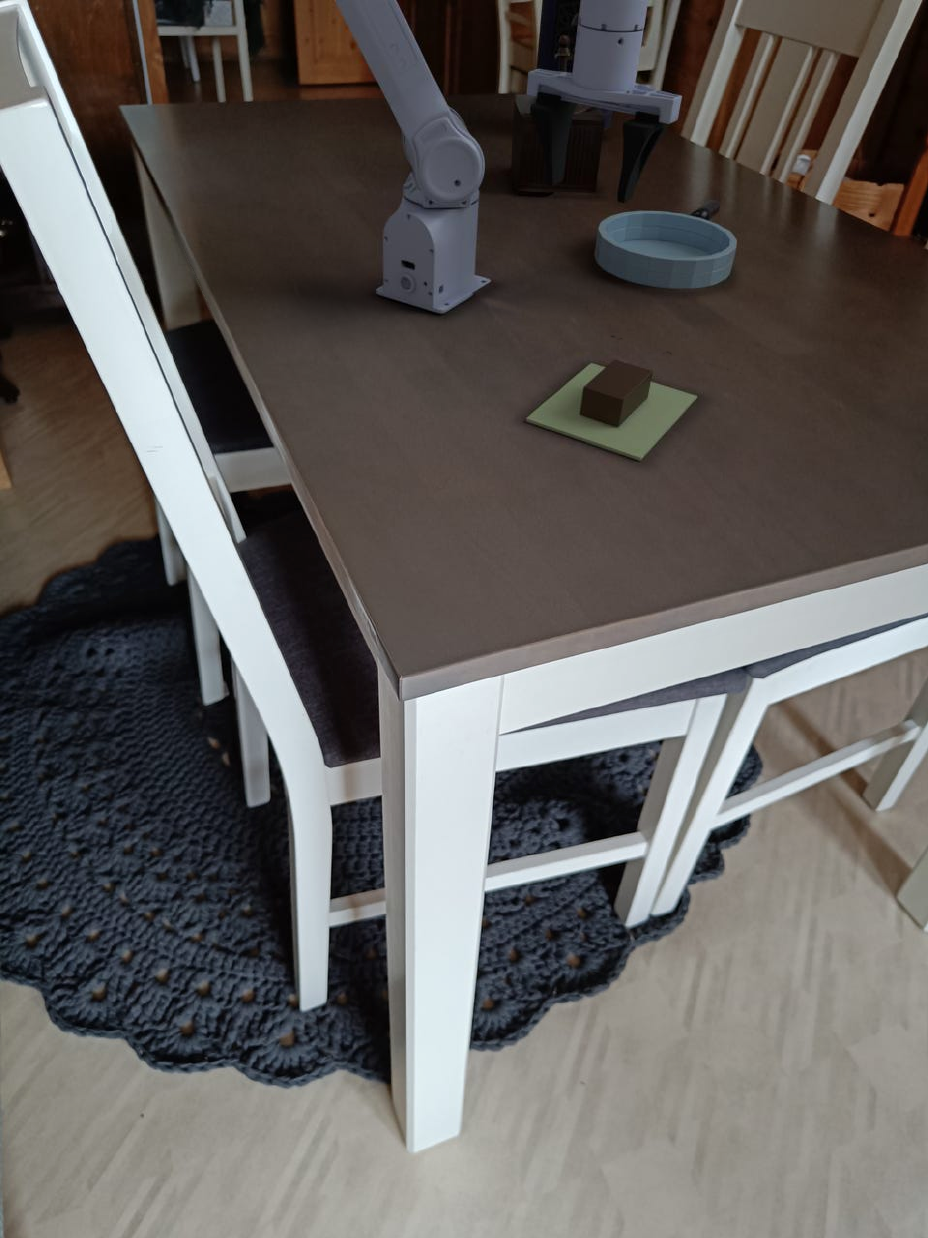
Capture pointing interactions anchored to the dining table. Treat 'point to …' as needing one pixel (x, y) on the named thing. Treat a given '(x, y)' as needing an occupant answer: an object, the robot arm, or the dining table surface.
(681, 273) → the pan
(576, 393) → the cloth
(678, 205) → the dining table surface
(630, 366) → the chocolate
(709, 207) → the pan handle
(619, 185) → the robot arm
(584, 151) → the vintage coffee grinder
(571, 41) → the dark blue tall block
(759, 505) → the dining table surface
